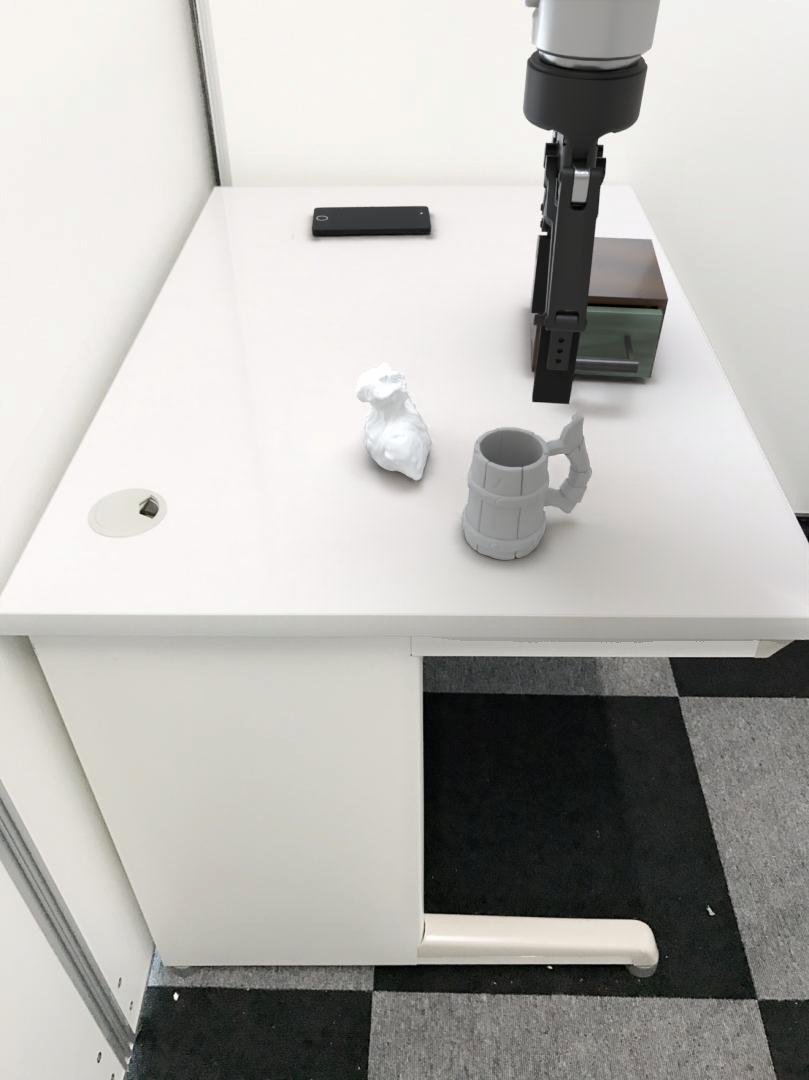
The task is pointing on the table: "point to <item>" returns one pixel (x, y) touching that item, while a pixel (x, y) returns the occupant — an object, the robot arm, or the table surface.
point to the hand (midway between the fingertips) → (548, 353)
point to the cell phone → (371, 220)
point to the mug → (520, 487)
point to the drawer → (618, 340)
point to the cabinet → (618, 280)
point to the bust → (393, 423)
